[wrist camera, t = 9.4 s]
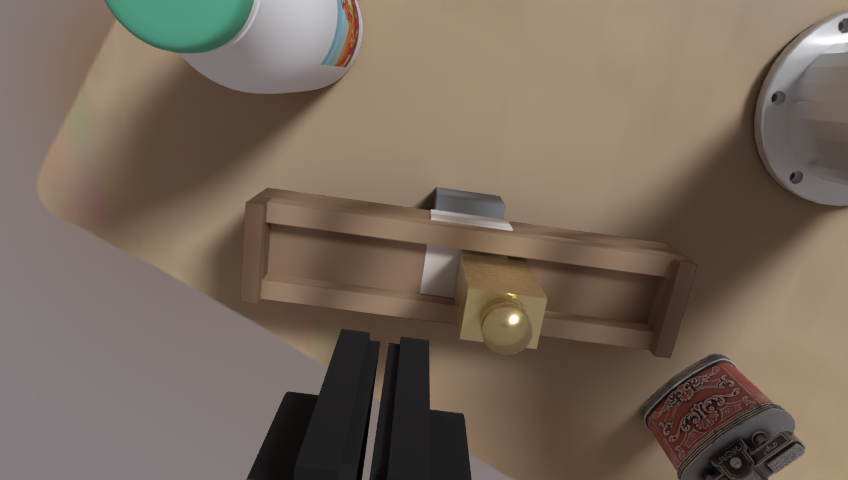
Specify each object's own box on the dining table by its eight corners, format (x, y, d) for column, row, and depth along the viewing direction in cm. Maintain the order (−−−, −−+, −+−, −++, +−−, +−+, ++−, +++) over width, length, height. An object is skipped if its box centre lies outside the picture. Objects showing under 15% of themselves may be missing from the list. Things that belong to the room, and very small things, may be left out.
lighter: (657, 437, 44) (721, 536, 35) (630, 409, 44) (688, 502, 34) (742, 373, 43) (833, 458, 33) (716, 344, 42) (801, 422, 33)
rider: (525, 259, 34) (554, 311, 27) (517, 302, 35) (542, 364, 28) (460, 250, 34) (470, 300, 27) (453, 293, 35) (461, 353, 27)
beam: (651, 217, 40) (702, 248, 32) (624, 322, 42) (666, 373, 35) (280, 165, 39) (246, 185, 31) (272, 274, 41) (239, 317, 34)
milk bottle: (335, 110, 38) (240, 144, 18) (226, 57, 37) (7, 35, 18) (384, -2, 36) (334, -96, 17) (270, -61, 35) (77, -232, 16)
